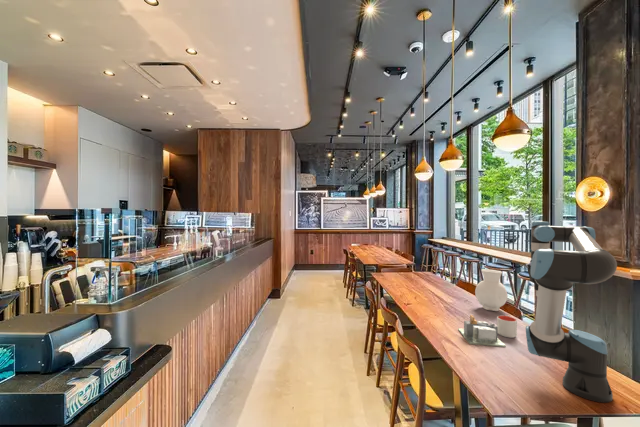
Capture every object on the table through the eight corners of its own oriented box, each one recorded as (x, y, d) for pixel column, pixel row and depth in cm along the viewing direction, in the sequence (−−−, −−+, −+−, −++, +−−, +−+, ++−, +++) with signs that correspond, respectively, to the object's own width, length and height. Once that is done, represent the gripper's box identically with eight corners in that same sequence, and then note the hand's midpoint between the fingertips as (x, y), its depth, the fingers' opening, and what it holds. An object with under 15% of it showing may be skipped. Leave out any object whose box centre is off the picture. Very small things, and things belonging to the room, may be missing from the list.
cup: (519, 339, 168) (520, 322, 168) (500, 337, 170) (501, 320, 170) (512, 332, 178) (512, 316, 178) (494, 330, 180) (494, 314, 180)
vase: (512, 311, 217) (513, 272, 217) (492, 315, 209) (493, 273, 209) (489, 304, 235) (490, 267, 235) (470, 307, 227) (471, 268, 227)
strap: (495, 328, 167) (495, 327, 167) (474, 325, 169) (474, 323, 169) (493, 327, 169) (493, 325, 169) (472, 323, 171) (473, 321, 171)
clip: (477, 324, 168) (477, 317, 168) (472, 324, 168) (472, 317, 168) (474, 321, 172) (474, 315, 172) (470, 321, 172) (470, 314, 172)
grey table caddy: (505, 347, 158) (505, 331, 158) (469, 344, 161) (469, 328, 161) (490, 332, 178) (490, 318, 178) (458, 329, 181) (458, 316, 181)
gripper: (549, 250, 152) (548, 295, 152) (522, 249, 154) (521, 294, 154) (558, 252, 144) (558, 299, 144) (530, 251, 146) (529, 298, 146)
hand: (539, 296), depth 149 cm, fingers closed
